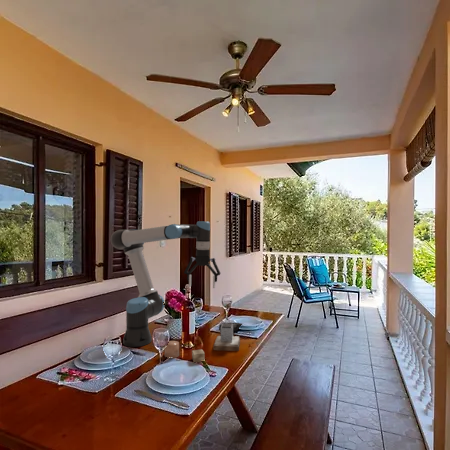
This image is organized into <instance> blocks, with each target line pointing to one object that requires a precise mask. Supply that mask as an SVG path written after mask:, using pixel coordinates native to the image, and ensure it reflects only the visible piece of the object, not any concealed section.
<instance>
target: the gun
mask: <svg viewBox="0 0 450 450" xmlns="http://www.w3.org/2000/svg"><path fill="white" fill-rule="evenodd" d="M222 324H223V323H221V324H219V327H218V330H219V332H220V334H219V336H221V326H222ZM232 324H233V332H234V331H235V332H237V331H239V330H240V329H239V327H240V326H241V325H242V326H243V323H240V322H232ZM238 329H239V330H238Z"/></svg>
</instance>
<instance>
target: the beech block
mask: <svg viewBox="0 0 450 450" xmlns="http://www.w3.org/2000/svg"><path fill="white" fill-rule="evenodd" d="M205 356H206V355H205V351H204V350H203V349H202V348H201V349H194V350H191V359H192V361H193V363H194V362H197V363H201V362H200V361H201V360H205V359H206V358H205Z"/></svg>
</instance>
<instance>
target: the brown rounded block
mask: <svg viewBox="0 0 450 450" xmlns="http://www.w3.org/2000/svg"><path fill="white" fill-rule="evenodd" d="M168 341H169V343H168V345H167V347H166V348H165V347H164V357H165V358H166V357H167V358H166V359H170V358H169V357H173V358H172V359H175V358H179V356H180V342H179V341H177V340H168Z"/></svg>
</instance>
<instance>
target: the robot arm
mask: <svg viewBox="0 0 450 450" xmlns="http://www.w3.org/2000/svg"><path fill="white" fill-rule="evenodd" d="M188 238H189V239H196V240H195V241H196V245H195V246H196V247H195V257H193V256H191V257H189V261H188V264H187V266H186V268H185V270H184V272H183V273H184V275H187V276H186V280H187V281H188V287H189V288H191V287H192V274H191V273H192V272H193V271H194V270H196V268H197V267H198V266H199V267H201V266H202V267H207V268H208V269H209V270H210V272H211V273H212V274H213V277H212V278H213V279H212V280H213V281H212V289H215V288H216V283H217V282H218V276H220V275H221V271H220V269H219V267H218V265H217V262H216V258H215V257H213V258H210V257H211V255H210V254H211V253H210V252H211V251H210V248H211V244H210V243H211V241H210V240H211V222H210V221H197V222H196V224H187V223H186V224H183V223H181V224H176V223H173V224H168V225H162V226H155V227H149V228H142V229H132V228H131V229H118V230H116V231H114V232H113V233H112V234H111V236H110V244H111V245H112V247H113V248H114V249H116V250H123V253H124V254H125V255H127V256H128V260H129V263H130V266H131V269H132V272H133V276H134V279H135V283H136V285H137V289H138V292H139V294H138V297H134V298H131V299H129V300H128V301H127V302H126V307H125V311H126V315H125V316H126V321H125V322H126V326H125V327H126V329H125V333H124V335H123V340H122V345H124V347H125V346H126V347H129V348H136V347H137V348H139V347H144V346H146V345H149V344H150V343H151V342H152V340H153V339H152V334H151V332H150V328H149V319H151V318H152V317H155V316H158V315H159V314H161V313H162V312H163V310H164V308H165V305H163V302H165V299H164V297H163V296H162V295H161V294H159V293H158V290H157V289H155V288H154V285H153V282H152V279H151V275H150V272H149V268H148V265H147V262H146V259H145V255H144V254H143V250H144V249H145V246H144V244H146V243H152V242H153V243H154V242H160V241H168V240H178V239H188ZM194 261H195V264H194V265H193V267H191V265H192V264H193V262H194ZM210 262H212V265H213V267H214V268H213V267H212V265H211V264H210ZM190 267H191V269H190Z"/></svg>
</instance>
